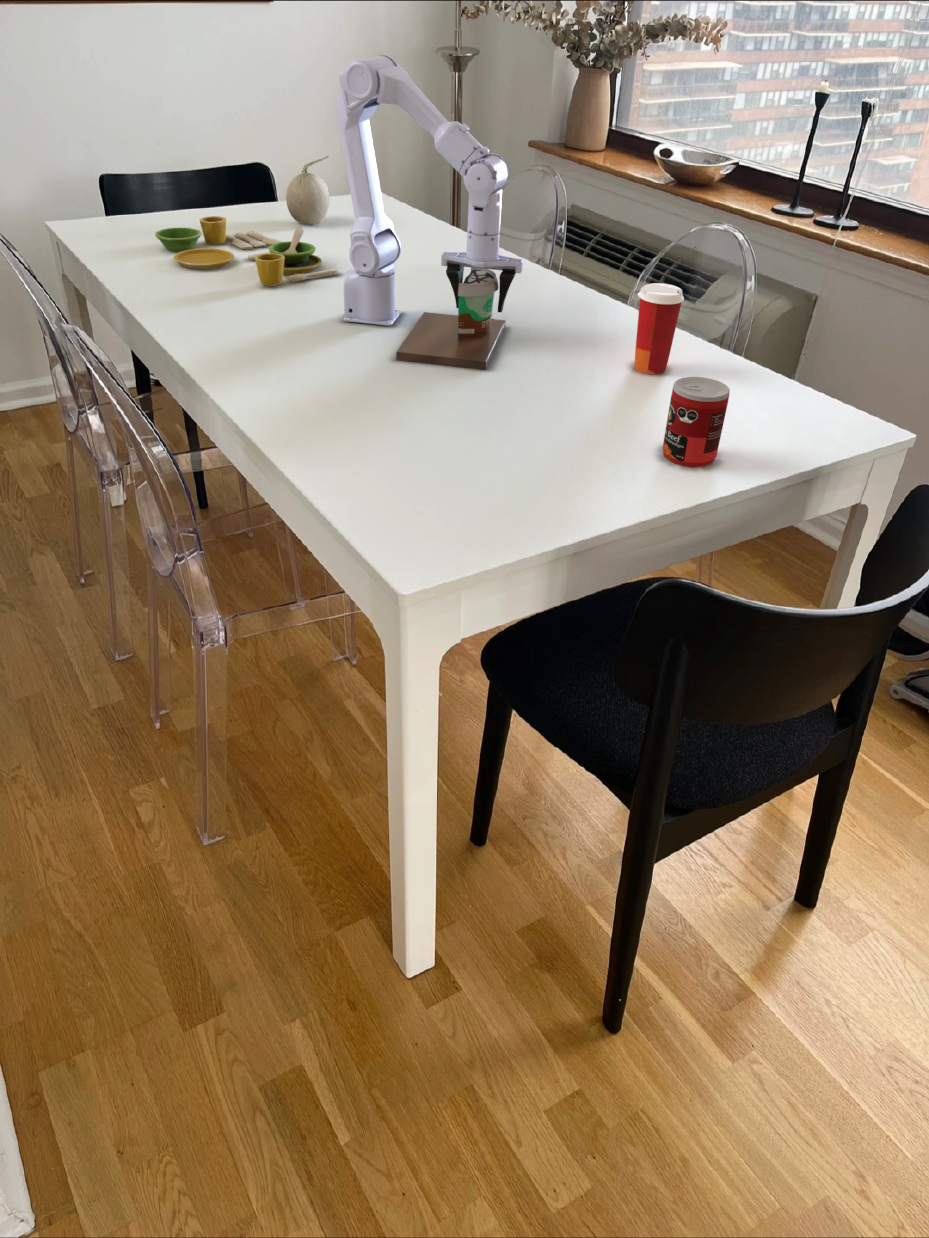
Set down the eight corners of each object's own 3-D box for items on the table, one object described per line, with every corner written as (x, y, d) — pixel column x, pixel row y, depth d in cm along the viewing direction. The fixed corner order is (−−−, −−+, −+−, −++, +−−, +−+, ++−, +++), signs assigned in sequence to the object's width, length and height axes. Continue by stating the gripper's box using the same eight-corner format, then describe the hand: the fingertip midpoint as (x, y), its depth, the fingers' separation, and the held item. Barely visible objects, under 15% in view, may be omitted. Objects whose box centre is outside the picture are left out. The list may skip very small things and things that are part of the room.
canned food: (656, 445, 148) (667, 376, 142) (707, 445, 149) (721, 376, 143) (668, 468, 142) (681, 397, 136) (722, 468, 143) (737, 397, 137)
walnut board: (396, 360, 172) (396, 351, 172) (424, 319, 190) (424, 312, 189) (485, 370, 170) (486, 361, 169) (505, 328, 188) (505, 320, 187)
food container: (489, 343, 177) (492, 287, 171) (456, 340, 177) (458, 284, 172) (501, 321, 186) (504, 268, 181) (469, 318, 187) (471, 264, 181)
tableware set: (345, 276, 210) (344, 246, 206) (227, 297, 196) (224, 265, 192) (254, 231, 236) (252, 203, 232) (144, 247, 222) (139, 218, 218)
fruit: (281, 228, 240) (276, 161, 231) (295, 216, 249) (291, 152, 240) (322, 231, 238) (319, 165, 230) (335, 220, 248) (332, 155, 239)
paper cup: (674, 364, 176) (688, 286, 168) (667, 379, 170) (681, 299, 162) (632, 357, 178) (643, 279, 170) (623, 372, 172) (634, 292, 164)
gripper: (438, 233, 169) (436, 311, 177) (521, 241, 168) (515, 319, 175) (446, 223, 175) (444, 299, 183) (526, 230, 173) (521, 307, 181)
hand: (479, 308), depth 180 cm, fingers open, 7 cm apart
